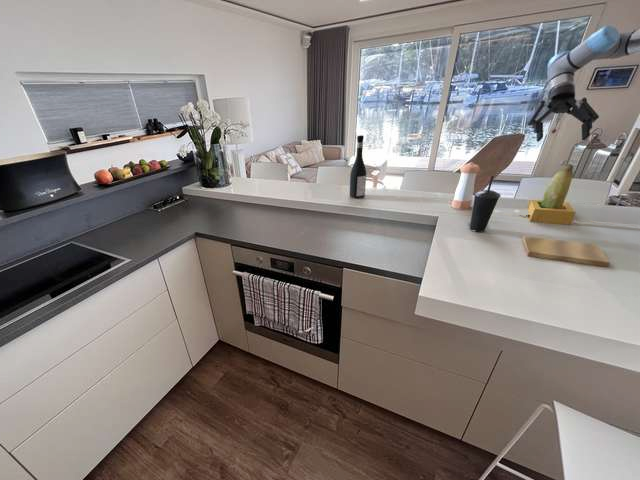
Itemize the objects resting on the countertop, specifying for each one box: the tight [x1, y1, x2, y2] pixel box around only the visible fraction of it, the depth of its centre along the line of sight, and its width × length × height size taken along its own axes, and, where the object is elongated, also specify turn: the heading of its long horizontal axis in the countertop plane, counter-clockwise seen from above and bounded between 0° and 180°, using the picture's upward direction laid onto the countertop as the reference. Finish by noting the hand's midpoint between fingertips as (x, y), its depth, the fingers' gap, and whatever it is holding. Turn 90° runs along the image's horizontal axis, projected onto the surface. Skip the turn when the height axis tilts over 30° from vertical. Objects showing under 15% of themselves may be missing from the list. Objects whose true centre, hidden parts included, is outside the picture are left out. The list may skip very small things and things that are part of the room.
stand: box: [526, 199, 576, 226], centre depth 110 cm, size 12×12×5 cm
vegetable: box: [541, 163, 574, 209], centre depth 106 cm, size 6×6×20 cm
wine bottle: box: [349, 135, 367, 199], centre depth 145 cm, size 8×8×30 cm
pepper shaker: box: [451, 161, 481, 210], centre depth 123 cm, size 7×7×19 cm
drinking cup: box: [469, 175, 501, 232], centre depth 102 cm, size 8×8×20 cm
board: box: [522, 236, 611, 268], centre depth 89 cm, size 18×12×2 cm, turn 60°
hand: (562, 138), depth 106 cm, fingers open, 13 cm apart
